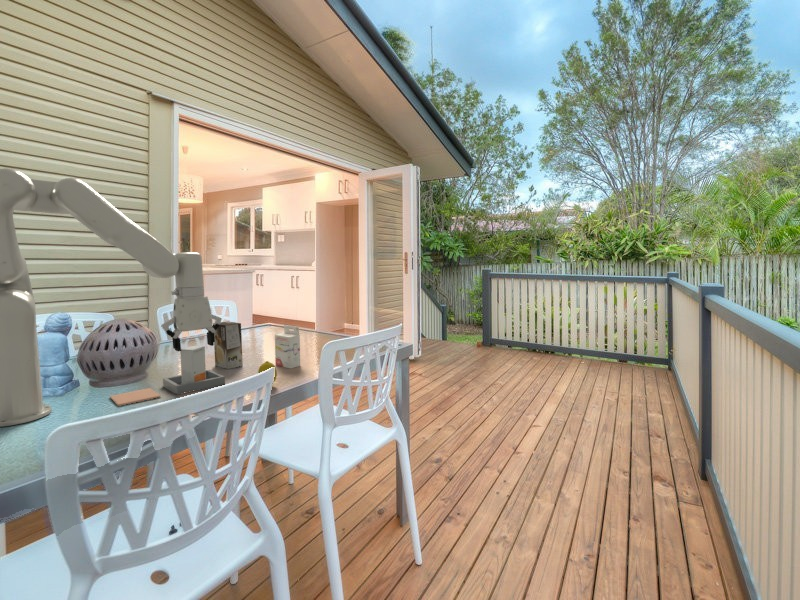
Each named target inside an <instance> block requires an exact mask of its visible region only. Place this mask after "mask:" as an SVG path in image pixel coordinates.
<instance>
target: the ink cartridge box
mask: <svg viewBox="0 0 800 600" xmlns="http://www.w3.org/2000/svg"><path fill="white" fill-rule="evenodd" d="M290 329H291V330H290ZM283 331H284V332H281V333H277V334H275V335H274V346H275V347H274V350H275V351H274V355H275V359H274V361H275V366H278V367H282V368H287V369H295V368H297V367H301V339H300V338H301V335H300V327H299V326H295V325H294V326H293V325H285V324H284V325H283Z"/></svg>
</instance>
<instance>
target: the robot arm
mask: <svg viewBox="0 0 800 600" xmlns="http://www.w3.org/2000/svg"><path fill="white" fill-rule="evenodd" d="M14 211H21V212H33V213H42V214H43V213H46V214H56V215H57V214H61V215H70V216H72V217H73V218H74V219H75V220H77V221H78V222H79V223H80V224H82V225H83V226H85V227H86V228H87V229H89V231H91V232H92V233H93V234H95V235H96V236H97V237H98V238H100V239H101V240H102V241H104V242H106V243H108V244H109V245H111V246H113V247H116V248H118V249H120V250H122V251H123V252H125V253H126V254H128V255H129V256H131V257H132V258H133V259H135V260H136V262H139V263H140V264H141V265H142V268H143V270H144V272H145V273H146V274H147V275H149V276H150V277H153V278H159V279H169V278H172V277H173V276H175V278H174V280H175V289H173V290H171V291H170V292H171V296H176V297H175V298H174V301H173V308H172V309H173V311H172V316H173V317H171V318H170V319H169V320H167V321H165V322H164V323H162V324H161V325H160V327H161V329H163V331H164V332H165V334H167V336H168V337H170V338H171V339H172V347H173V349H174V350H175V351H176V352H180V351H181V349H182V346H181V344H182V343H181V338H180V337H179V336H180V335H181V334H182V333H183V332H191V331H199V330H206V331H207V332H206V343H207V345H209V346H212V347H214V342H215V339H214V333H215V331H216V330H217V328H218V327H219V324H220V322H222V320H223V318H222V317H219V316H217V315H215V314H212V310H211V305H210V300H209V298H208V296H205V288H204V287H205V285H204V284H205V283H204V274H203V273H204V272H203V270H204V269H203V259H202V255H201V254H200V253H199V252H196V251H195V252H194V251H193V252H191V251H188V252H186V251H185V252H177V253H173V252H172V251H170V250H169V249H168V248H167V247H166V246H165V245H164V244H162V243H161V242H160V241H158V239H156V238H155V237H154V236H153V235H151V234H149V232H148V231H146V230H144V229H143V228H141V227H140V225H138V224H137V223H135V222H134V221H132V220H131V219H130V218H128V217H127V216H126V215H125V214H123V213H122V212H121V211H120V210H119V209H117V208H116V207H115V206H113V204H112V203H110V202H109V201H108V200H107V199H106V198H105V197H103V196H102V195H101V194H100V193H98V192H97V191H96V190H94V188H92V186H90V185H89V184H87V183H86V182H84V181H82V180H81V179H78V178H73V177H67V178H66V177H65V178H63V179H61V180H58V181H52V180H41V179H36V178H35V179H34V178H30V177H29V176H28V175H26V174H24V173H23V172H21V171H19V170H16V169H13V168H6V167H5V168H2V167H1V168H0V428H2V427H9V426H10V427H11V426H14V425H20V424H25V423H30V422H32V421H36V420H39V419H42V418H44V417H45V416H48V415H50V414H51V413H52V406H51V405H49V404H44V402H43V401H44V400H43V399H44V398H43V389H42V376H41V365H40V364H41V363H40V352H39V342H38V331H37V314H36V312H37V311H36V302H35V301H36V300H35V296H34V293H33V288H32V282H31V278H30V274H29V270H28V269H29V268H28V265H27V260H26V258H25V256H23V254H22V253H21V249H20V247H19V242H18V238H17V233H16V232H17V231H16V227H15V222H14V221H15V220H14ZM213 320H214V322H213ZM213 323H214V324H213ZM172 325H173V328H174V329H173V331H172V330H171V329H170V326H172Z"/></svg>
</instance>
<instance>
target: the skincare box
mask: <svg viewBox="0 0 800 600" xmlns="http://www.w3.org/2000/svg"><path fill="white" fill-rule="evenodd" d="M179 352H180V372H181V373H180V375H181V379H182V384H187V383H191V382H196V381H201V380H206V379H207V378H206V370H207V369H206V348H205V346H204V345H192V346H187V347H185V348H181V351H179ZM182 384H181V385H182Z"/></svg>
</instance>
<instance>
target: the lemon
mask: <svg viewBox="0 0 800 600" xmlns="http://www.w3.org/2000/svg"><path fill="white" fill-rule="evenodd" d="M271 367H275V377H274V383H275V381H276V380H277V376H278V371H277V367H276V364H274V363H272V362H270V361H267V360H266V361H265V362H262V364H261V365H260V366H259V367H258V371H257V374H258V373H260V372H262V371H265V370H267V369H269V368H271Z"/></svg>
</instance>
